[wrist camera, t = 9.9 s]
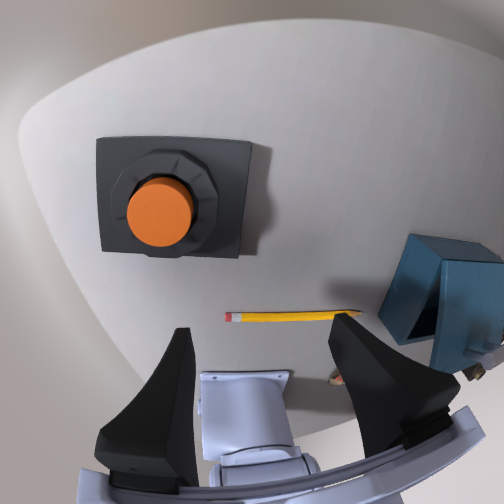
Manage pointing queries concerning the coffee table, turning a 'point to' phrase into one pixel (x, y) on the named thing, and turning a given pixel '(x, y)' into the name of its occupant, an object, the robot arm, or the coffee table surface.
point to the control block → (186, 172)
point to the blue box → (423, 285)
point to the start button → (160, 212)
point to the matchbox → (336, 378)
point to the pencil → (284, 316)
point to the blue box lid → (469, 316)
